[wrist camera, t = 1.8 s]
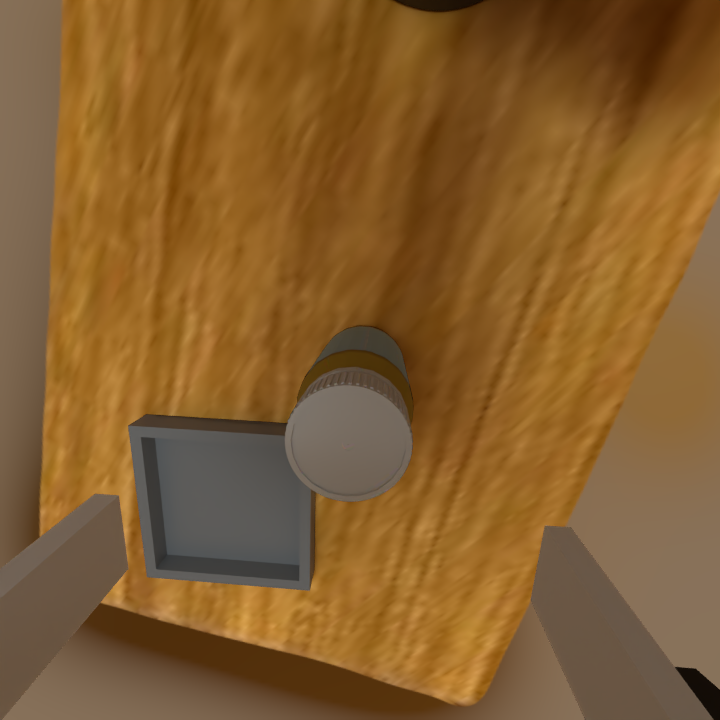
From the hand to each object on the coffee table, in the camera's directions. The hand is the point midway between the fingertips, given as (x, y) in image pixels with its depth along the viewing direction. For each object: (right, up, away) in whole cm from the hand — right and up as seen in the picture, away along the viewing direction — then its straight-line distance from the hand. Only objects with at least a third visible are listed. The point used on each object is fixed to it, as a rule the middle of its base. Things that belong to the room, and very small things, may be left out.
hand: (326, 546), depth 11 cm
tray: (-11, -7, +25) cm, 28 cm away
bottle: (+1, +6, +21) cm, 22 cm away
